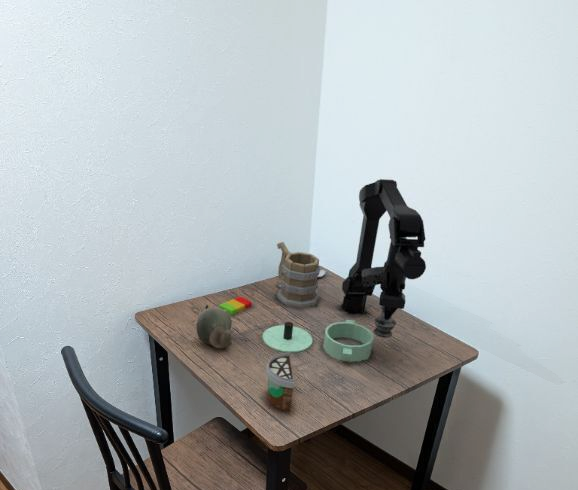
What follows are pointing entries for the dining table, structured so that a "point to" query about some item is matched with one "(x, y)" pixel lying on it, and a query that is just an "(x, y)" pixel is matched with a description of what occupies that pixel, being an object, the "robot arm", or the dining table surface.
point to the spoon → (318, 275)
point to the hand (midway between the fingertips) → (386, 316)
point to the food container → (280, 382)
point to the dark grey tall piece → (384, 325)
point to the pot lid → (287, 338)
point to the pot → (348, 351)
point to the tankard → (298, 278)
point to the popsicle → (235, 305)
